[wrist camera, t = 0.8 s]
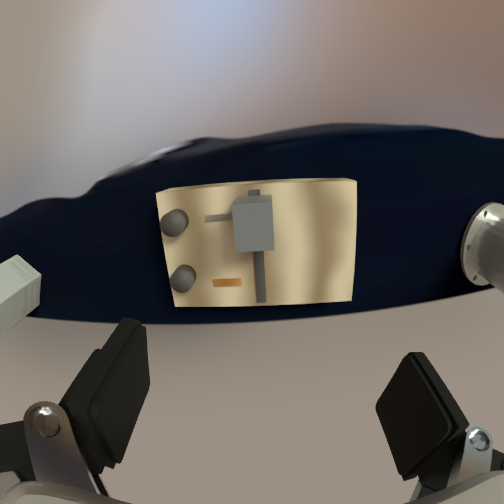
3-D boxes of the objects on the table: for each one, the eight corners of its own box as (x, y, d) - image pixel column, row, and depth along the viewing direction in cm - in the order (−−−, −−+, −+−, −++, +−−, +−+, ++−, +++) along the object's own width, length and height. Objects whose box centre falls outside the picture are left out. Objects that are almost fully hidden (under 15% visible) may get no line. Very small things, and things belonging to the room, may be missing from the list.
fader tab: (271, 194, 26) (272, 201, 22) (273, 235, 27) (274, 250, 23) (237, 196, 26) (231, 204, 22) (240, 237, 27) (235, 252, 23)
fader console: (346, 178, 29) (363, 183, 23) (343, 284, 33) (355, 309, 28) (169, 188, 31) (148, 196, 25) (184, 290, 35) (170, 315, 29)
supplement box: (17, 252, 35) (-32, 281, 23) (42, 274, 36) (-7, 310, 24) (15, 284, 38) (-28, 315, 26) (40, 305, 39) (-3, 342, 27)
